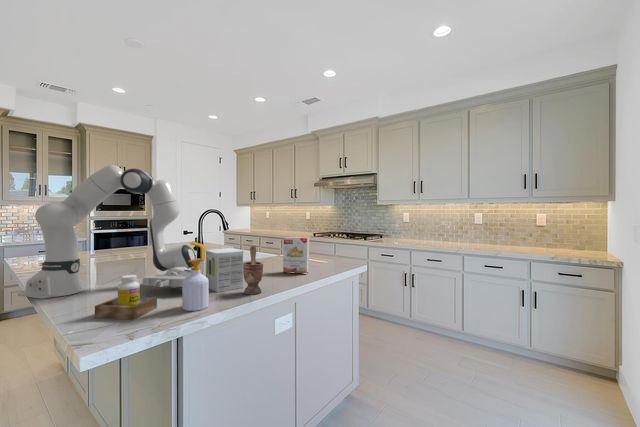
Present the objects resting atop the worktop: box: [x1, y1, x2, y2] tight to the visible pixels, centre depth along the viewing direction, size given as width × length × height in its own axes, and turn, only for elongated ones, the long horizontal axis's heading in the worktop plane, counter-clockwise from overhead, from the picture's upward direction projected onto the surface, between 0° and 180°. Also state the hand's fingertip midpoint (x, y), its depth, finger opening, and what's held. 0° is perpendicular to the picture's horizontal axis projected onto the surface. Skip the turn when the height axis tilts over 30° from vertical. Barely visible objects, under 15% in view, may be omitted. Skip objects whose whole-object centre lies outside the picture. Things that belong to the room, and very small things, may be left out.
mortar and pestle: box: [243, 245, 264, 295], centre depth 139 cm, size 12×9×20 cm
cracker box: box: [282, 236, 310, 274], centre depth 180 cm, size 14×6×21 cm, turn 81°
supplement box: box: [205, 247, 244, 293], centre depth 146 cm, size 13×13×18 cm
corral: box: [94, 296, 158, 321], centre depth 110 cm, size 14×12×4 cm
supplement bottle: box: [117, 274, 141, 306], centre depth 111 cm, size 7×7×13 cm
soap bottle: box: [181, 241, 210, 312], centre depth 116 cm, size 9×9×25 cm
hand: (157, 285), depth 127 cm, fingers closed
